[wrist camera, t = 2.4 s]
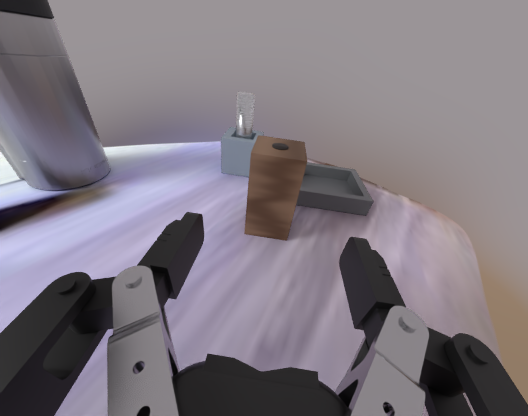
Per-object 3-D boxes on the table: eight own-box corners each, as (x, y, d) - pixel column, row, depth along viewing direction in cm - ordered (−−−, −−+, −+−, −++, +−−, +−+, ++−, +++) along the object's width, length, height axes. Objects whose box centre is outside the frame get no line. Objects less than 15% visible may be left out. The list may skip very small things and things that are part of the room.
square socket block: (221, 172, 35) (220, 137, 31) (229, 158, 40) (230, 127, 36) (256, 178, 35) (259, 143, 31) (260, 163, 39) (263, 132, 36)
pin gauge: (233, 170, 36) (235, 93, 29) (236, 163, 38) (239, 91, 31) (248, 172, 36) (253, 96, 29) (250, 166, 38) (256, 93, 31)
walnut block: (244, 233, 24) (250, 151, 18) (251, 208, 28) (258, 134, 22) (286, 240, 24) (307, 160, 18) (287, 214, 28) (304, 141, 22)
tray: (284, 202, 30) (287, 188, 28) (285, 172, 38) (288, 159, 36) (366, 215, 30) (373, 201, 28) (350, 181, 38) (355, 169, 36)
